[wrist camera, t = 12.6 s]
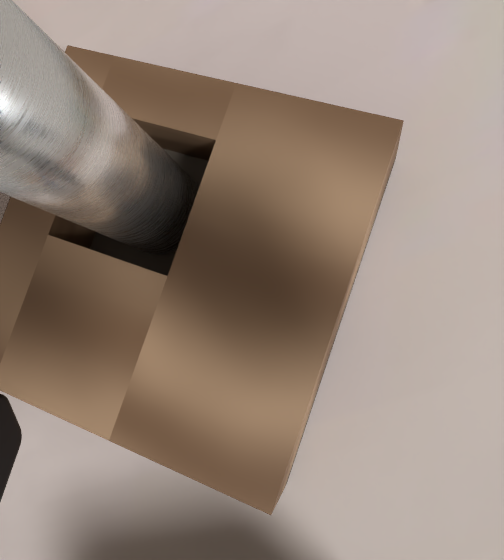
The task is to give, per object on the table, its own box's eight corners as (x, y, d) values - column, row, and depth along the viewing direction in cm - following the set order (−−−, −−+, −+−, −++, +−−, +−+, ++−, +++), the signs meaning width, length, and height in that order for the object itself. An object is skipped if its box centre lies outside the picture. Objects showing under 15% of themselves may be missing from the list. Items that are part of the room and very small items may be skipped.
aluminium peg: (199, 256, 20) (-54, 122, 8) (115, 252, 21) (-235, 126, 9) (208, 167, 21) (-20, -97, 8) (125, 167, 22) (-195, -72, 9)
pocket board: (286, 484, 19) (270, 515, 16) (9, 362, 22) (-54, 365, 19) (395, 158, 20) (403, 120, 16) (110, 89, 23) (67, 45, 20)
